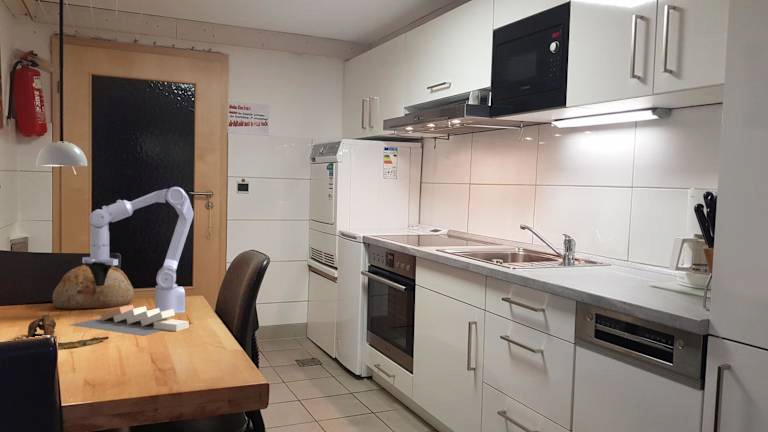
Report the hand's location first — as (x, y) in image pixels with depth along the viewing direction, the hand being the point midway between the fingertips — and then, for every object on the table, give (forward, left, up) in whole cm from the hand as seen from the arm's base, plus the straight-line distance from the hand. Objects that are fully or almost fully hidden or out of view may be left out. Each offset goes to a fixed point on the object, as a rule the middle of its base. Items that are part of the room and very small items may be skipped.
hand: (100, 285), depth 192 cm
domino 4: (-10, +23, -9) cm, 27 cm away
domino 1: (-1, +8, -9) cm, 12 cm away
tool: (+16, +34, -11) cm, 39 cm away
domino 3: (-6, +18, -9) cm, 21 cm away
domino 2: (-4, +13, -9) cm, 16 cm away
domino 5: (-12, +28, -9) cm, 32 cm away
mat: (-4, +20, -10) cm, 23 cm away
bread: (-2, -22, -11) cm, 25 cm away
